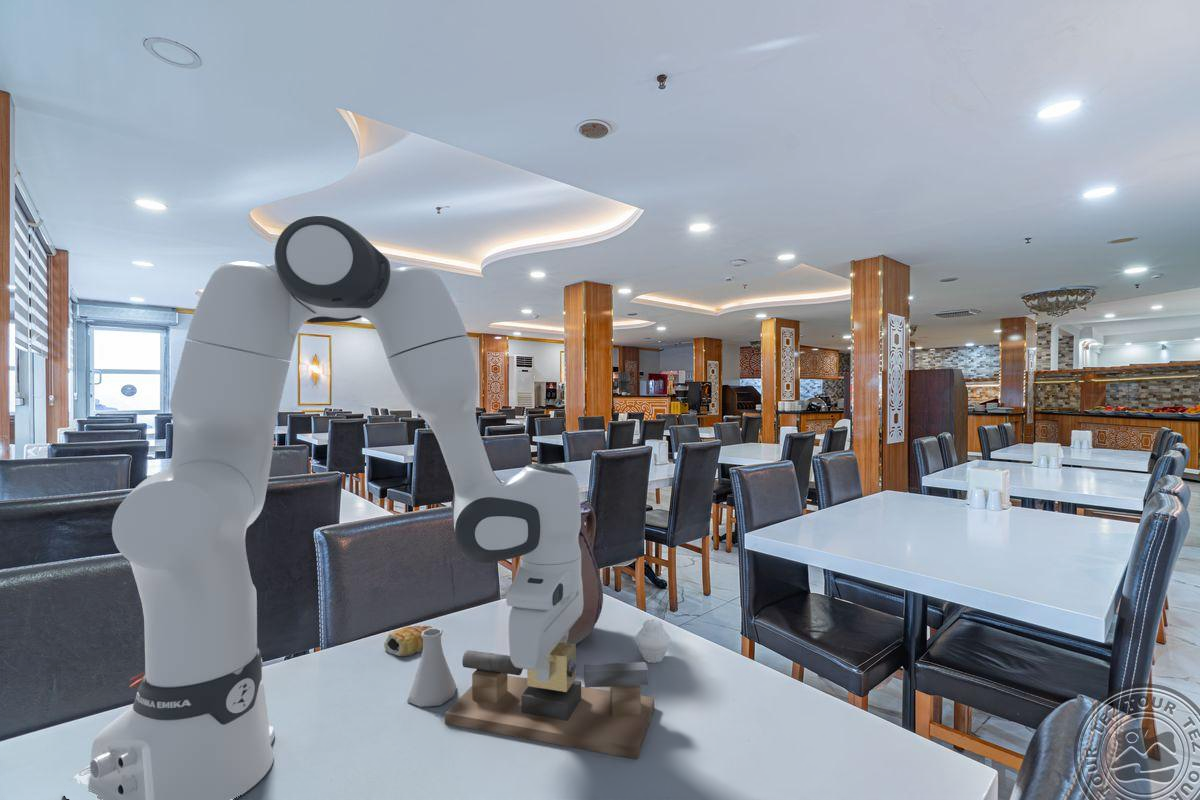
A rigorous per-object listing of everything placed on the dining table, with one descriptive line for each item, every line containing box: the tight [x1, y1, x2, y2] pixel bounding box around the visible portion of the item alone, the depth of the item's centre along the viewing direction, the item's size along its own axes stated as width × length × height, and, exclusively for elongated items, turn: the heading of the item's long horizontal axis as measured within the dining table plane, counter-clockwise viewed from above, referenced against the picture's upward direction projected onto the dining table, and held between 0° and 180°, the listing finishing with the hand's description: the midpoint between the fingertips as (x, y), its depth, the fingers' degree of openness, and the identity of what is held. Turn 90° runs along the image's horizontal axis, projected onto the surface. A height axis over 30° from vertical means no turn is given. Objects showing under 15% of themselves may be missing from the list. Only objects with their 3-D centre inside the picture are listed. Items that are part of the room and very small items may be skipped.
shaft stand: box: [444, 649, 655, 760], centre depth 80 cm, size 28×12×8 cm, turn 74°
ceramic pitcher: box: [511, 501, 604, 645], centre depth 107 cm, size 18×21×25 cm
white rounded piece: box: [635, 618, 671, 663], centre depth 97 cm, size 6×6×7 cm
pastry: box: [383, 625, 433, 657], centre depth 102 cm, size 9×7×4 cm
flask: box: [407, 627, 457, 708], centre depth 85 cm, size 7×7×10 cm
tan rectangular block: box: [526, 642, 577, 692], centre depth 80 cm, size 7×4×5 cm, turn 74°
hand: (551, 670), depth 80 cm, fingers closed on tan rectangular block, 4 cm apart
